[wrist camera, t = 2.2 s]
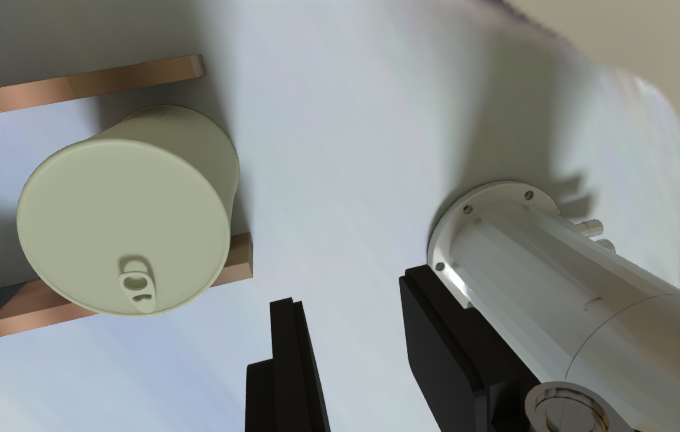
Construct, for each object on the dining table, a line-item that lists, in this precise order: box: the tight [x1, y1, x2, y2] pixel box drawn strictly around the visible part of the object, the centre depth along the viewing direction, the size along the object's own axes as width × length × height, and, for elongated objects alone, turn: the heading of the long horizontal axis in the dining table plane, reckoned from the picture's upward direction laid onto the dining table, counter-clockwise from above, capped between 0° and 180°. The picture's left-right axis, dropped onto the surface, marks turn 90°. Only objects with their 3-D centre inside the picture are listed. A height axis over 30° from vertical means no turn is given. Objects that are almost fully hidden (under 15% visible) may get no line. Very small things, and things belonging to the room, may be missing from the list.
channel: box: [0, 55, 253, 337], centre depth 27 cm, size 16×14×5 cm
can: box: [16, 105, 240, 317], centre depth 24 cm, size 9×9×12 cm
